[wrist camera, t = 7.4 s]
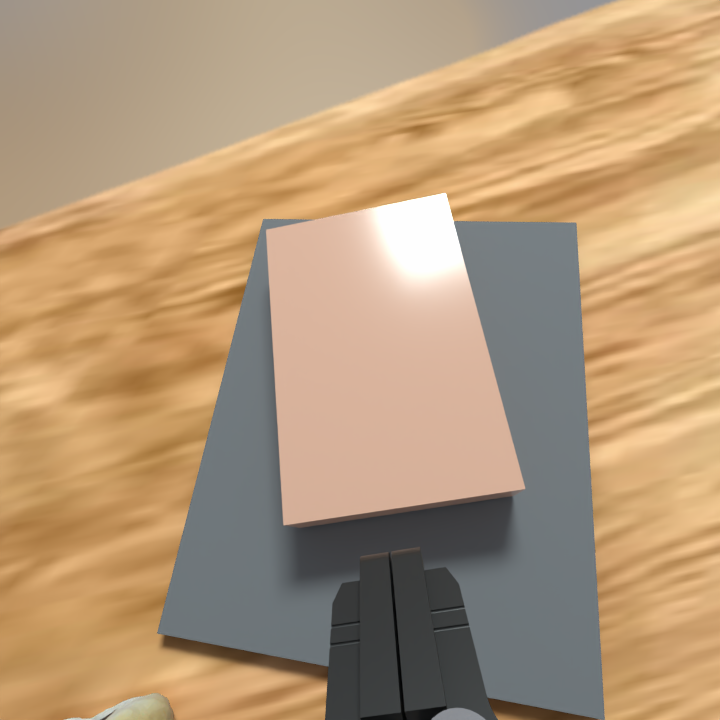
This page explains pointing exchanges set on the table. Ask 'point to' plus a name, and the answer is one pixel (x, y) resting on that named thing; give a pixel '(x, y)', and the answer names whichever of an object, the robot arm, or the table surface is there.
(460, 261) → the tile
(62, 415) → the table surface
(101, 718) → the pastry
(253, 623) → the mat
